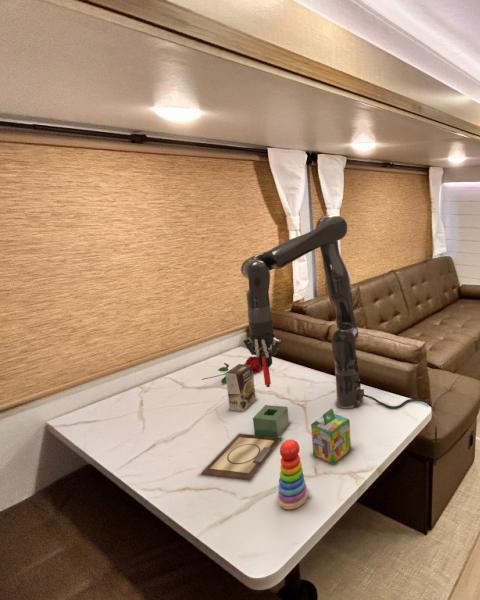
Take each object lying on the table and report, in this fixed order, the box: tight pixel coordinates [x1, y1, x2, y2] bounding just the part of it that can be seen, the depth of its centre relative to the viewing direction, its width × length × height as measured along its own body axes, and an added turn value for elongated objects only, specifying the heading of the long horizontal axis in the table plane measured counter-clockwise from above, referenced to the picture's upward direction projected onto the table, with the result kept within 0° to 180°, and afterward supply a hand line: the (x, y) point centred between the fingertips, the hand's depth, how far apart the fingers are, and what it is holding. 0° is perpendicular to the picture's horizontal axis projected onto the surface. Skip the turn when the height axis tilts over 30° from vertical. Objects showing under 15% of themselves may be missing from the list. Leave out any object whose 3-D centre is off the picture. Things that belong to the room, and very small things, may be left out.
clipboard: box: [201, 433, 282, 481], centre depth 122 cm, size 16×20×1 cm
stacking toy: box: [277, 438, 309, 510], centre depth 101 cm, size 8×8×19 cm
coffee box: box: [224, 363, 257, 412], centre depth 150 cm, size 9×6×16 cm
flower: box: [201, 355, 263, 384], centre depth 175 cm, size 9×10×30 cm
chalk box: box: [310, 408, 352, 465], centre depth 121 cm, size 9×9×15 cm
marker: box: [261, 351, 272, 388], centre depth 130 cm, size 2×2×13 cm
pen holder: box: [252, 404, 290, 438], centre depth 135 cm, size 9×9×7 cm
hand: (265, 365), depth 129 cm, fingers closed on marker, 2 cm apart
